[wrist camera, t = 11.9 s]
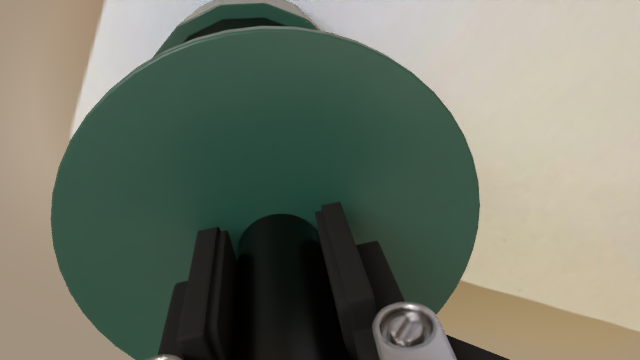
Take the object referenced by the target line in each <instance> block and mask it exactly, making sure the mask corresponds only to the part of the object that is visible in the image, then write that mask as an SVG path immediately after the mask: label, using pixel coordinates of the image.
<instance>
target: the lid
mask: <svg viewBox="0 0 640 360" xmlns="http://www.w3.org/2000/svg"><path fill="white" fill-rule="evenodd" d="M335 202H340V203H341V205H342V208H343V211H344V214H345V216H346V219H347V222H348V225H349V228H350V230H351V233H352V236H353V239H354V241H355V244H356V245H358V244H363V243H368V242H372V241H378V242H379V244H380V246H381V249H382V251H383V253H384V255H385V258H386V260H387V262H388V264H389V267H390V269H391V271H392V273H393V276H394V278H395V280H396V282H397V284H398V287H399V289H400V291H401V293H402V296H403V298H404V300H405V302H414V303H419V304H421V305H424V306H426V307H428V308H429V309H430V310H432V311H433V312H434V313H435V314H437V313H438V312H439V311H440V309H441V308H442V307H443V306H444V304H445V303H446V302H447V300H448V299H449V297H450V296H451V294H452V293H453V291H454V290H455V288H456V286H457V284H458V283H459V281H460V279H461V277H462V275H463V273H464V271H465V269H466V267H467V264H468V261H469V259H470V256H471V253H472V251H473V247H474V243H475V238H476V234H477V229H478V221H479V208H480V201H479V186H478V178H477V174H476V169H475V165H474V160H473V157H472V154H471V152H470V149H469V147H468V144H467V142H466V139H465V136H464V134H463V133H462V131H461V129H460V128H459V126H458V124H457V122H456V121H455V119H454V117H453V116H452V114H451V112H450V111H449V110H448V109H447V108H446V106H445V105H444V104H443V103H442V101H441V100H440V99H439V98H438V97H437V95H436V94H435V93H434V92H433V91H432V90H431V89H430V88H429V87H428V86H426V85H425V84H424V83H423V82H422V81H421V80H420V79H419V78H418V77H416V76H415V75H414V74H413V73H412V72H410V71H409V70H407V69H406V68H404V67H403V66H401V65H400V64H398V63H397V62H395V61H394V60H392V59H391V58H389V57H388V56H386V55H385V54H383V53H381V52H379V51H377V50H375V49H372V48H370V47H368V46H366V45H364V44H362V43H360V42H358V41H355V40H352V39H348V38H345V37H342V36H339V35H335V34H332V33H329V32H325V31H319V30H312V29H306V28H300V27H289V26H256V27H247V28H239V29H230V30H225V31H221V32H217V33H213V34H210V35H206V36H202V37H198V38H195V39H192V40H190V41H187V42H185V43H183V44H180V45H178V46H175V47H173V48H170V49H168V50H166V51H164V52H162V53H160V54H159V55H157V56H155V57H154V58H152V59H150V60H149V61H147V62H145V63H144V64H142V65H140V66H139V67H137V68H136V69H135V70H133V71H132V72H131V73H130V74H128V75H127V76H126V77H125V78H123V79H122V80H121V81H120V82H119V83H117V84H116V85H115V86H114V87H112V88H111V89H110V90H109V91H108V92H107V93H106V94H105V95H104V97H103V98H102V99H101V100H100V101H99V102H98V103H97V104H96V105H95V106H94V108H93V109H92V110H91V111H90V112H89V113H88V114H87V115H86V117H85V119H84V120H83V122H82V123H81V125H80V126H79V128H78V129H77V131H76V132H75V134H74V136H73V137H72V139H71V140H70V143H69V145H68V147H67V150H66V152H65V154H64V156H63V159H62V161H61V163H60V166H59V169H58V173H57V177H56V181H55V186H54V189H53V195H52V209H51V227H52V236H53V246H54V250H55V254H56V257H57V261H58V265H59V269H60V271H61V274H62V276H63V278H64V280H65V282H66V285H67V287H68V289H69V291H70V293H71V295H72V296H73V298H74V299H75V301H76V303H77V304H78V306H79V307H80V309H81V310H82V312H83V313H84V314H85V315H86V317H87V318H88V319H89V320H90V321H91V322H92V324H93V325H94V326H95V327H96V328H97V329H98V330H99V331H100V332H101V333H102V334H103V335H104V336H105V337H106V338H107V339H108V340H110V341H111V342H112V343H113V344H114V345H115V346H116V347H118V348H119V349H121V350H122V351H124V352H125V353H127V354H128V355H130V356H131V357H132V358H134V359H135V360H146V359H148V358H151V357H154V356H156V355H158V351H159V347H160V343H161V339H162V335H163V330H164V326H165V322H166V318H167V314H168V309H169V305H170V301H171V297H172V293H173V289H174V286H175V284H177V283H180V282H184V281H188V277H189V272H190V267H191V262H192V257H193V252H194V247H195V242H196V237H197V233H198V231H200V230H205V229H209V228H214V227H219V228H220V230H221V231H225V230H227V231H228V233H229V236H230V239H231V243H232V246H233V249H234V253H235V256H236V259H237V273H236V293H235V313H234V333H233V353H232V360H349V357H348V354H347V352H346V348H345V344H344V340H343V336H342V331H341V327H340V323H339V319H338V315H337V311H336V306H335V302H334V298H333V294H332V290H331V286H330V281H329V277H328V273H327V269H326V265H325V260H324V256H323V252H322V248H321V243H320V238H319V233H318V227H317V222H316V217H315V212H316V211H321V210H322V209H321V205H325V204H330V203H335Z"/></svg>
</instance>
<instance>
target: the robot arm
mask: <svg viewBox="0 0 640 360" xmlns="http://www.w3.org/2000/svg"><path fill="white" fill-rule="evenodd" d="M321 209H322V210H321V211H316V212H315V217H316V222H317V227H318V233H319V238H320V243H321V248H322V252H323V256H324V260H325V265H326V269H327V273H328V277H329V281H330V286H331V290H332V294H333V298H334V302H335V306H336V311H337V315H338V319H339V323H340V327H341V331H342V336H343V340H344V344H345V348H346V352H347V354H348V357H349V360H509V359H507V358H504V357H502V356H499V355H497V354H494V353H491V352H489V351H486V350H484V349H481V348H479V347H476V346H474V345H471V344H469V343H466V342H463V341H461V340H458V339H456V338H453V337H451V336H448V335H446V334H445V332H444V330H443V327H442V325H441V323H440V321H439V319H438V317H437V316H436V314H435V313H434V312H433V311H432V310H430V309H429V308H428V307H426V306H424V305H421V304H419V303H414V302H405V300H404V298H403V296H402V293H401V291H400V289H399V287H398V284H397V282H396V280H395V278H394V276H393V273H392V271H391V269H390V267H389V264H388V262H387V260H386V258H385V255H384V253H383V251H382V249H381V246H380V244H379V242H378V241H372V242H368V243H363V244H358V245H356V244H355V241H354V239H353V236H352V233H351V230H350V228H349V225H348V222H347V219H346V216H345V214H344V211H343V208H342V205H341V203H340V202H335V203H330V204H325V205H321ZM236 273H237V259H236V256H235V253H234V249H233V246H232V243H231V239H230V236H229V233H228V231H227V230H225V231H221V230H220V228H219V227H214V228H209V229H205V230H200V231H198V233H197V237H196V242H195V247H194V252H193V257H192V262H191V267H190V272H189V277H188V281H184V282H180V283H177V284H175V286H174V289H173V293H172V297H171V301H170V305H169V309H168V314H167V318H166V322H165V326H164V330H163V335H162V339H161V343H160V347H159V351H158V355H156V356H154V357H151V358H148V359H146V360H232V353H233V333H234V313H235V293H236Z"/></svg>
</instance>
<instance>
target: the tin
mask: <svg viewBox="0 0 640 360" xmlns="http://www.w3.org/2000/svg"><path fill="white" fill-rule="evenodd" d="M256 26H289V27H300V28H306V29H312V30H319V31H321V30H320V28H319V27H318V26H317V25H316V24H315V23H314V22H313V21H312V20H311V19H310V18H308V17H307V16H306V15H305V14H304V13H303V12H302V11H301V10H300V9H299V8H298V7H297V6H296V5H295V4H293V3H291V2H288V1H286V0H213V1H211V2H209V3H207V4H205V5H203V6H201V7H199V8H198V9H197V10H196V11H195V12H193V13H192V14H191V15H190V16H189V17H187V18H186V19H185V20H184V21H183V22H181V23H180V24H179V25H178V26H177V27H176V28H175V30H174V31H173V32H172V33H171V35H170V36H169V37H168V39H167V40H166V41H165V42H164V44H163V45H162V46H161V48H160V49H159V50H158V51H157V53H156V54H155V55H154V56H153V58H154V57H155V56H157V55H159V54H160V53H162V52H164V51H166V50H168V49H170V48H173V47H175V46H178V45H180V44H183V43H185V42H187V41H190V40H192V39H195V38H198V37H202V36H206V35H210V34H213V33H217V32H221V31H225V30H230V29H239V28H247V27H256Z"/></svg>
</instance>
